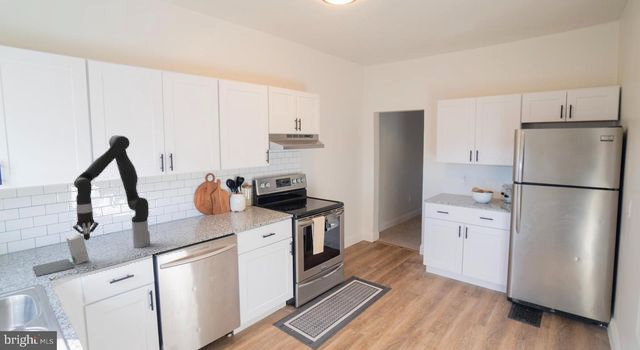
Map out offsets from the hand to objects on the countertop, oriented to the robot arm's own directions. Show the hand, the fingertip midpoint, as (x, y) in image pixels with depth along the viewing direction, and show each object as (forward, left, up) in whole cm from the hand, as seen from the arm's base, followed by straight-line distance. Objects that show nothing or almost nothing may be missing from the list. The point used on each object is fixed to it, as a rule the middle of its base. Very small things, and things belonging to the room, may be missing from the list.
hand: (87, 239), depth 193 cm
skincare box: (+3, 0, -12) cm, 13 cm away
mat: (+16, 0, -12) cm, 21 cm away
